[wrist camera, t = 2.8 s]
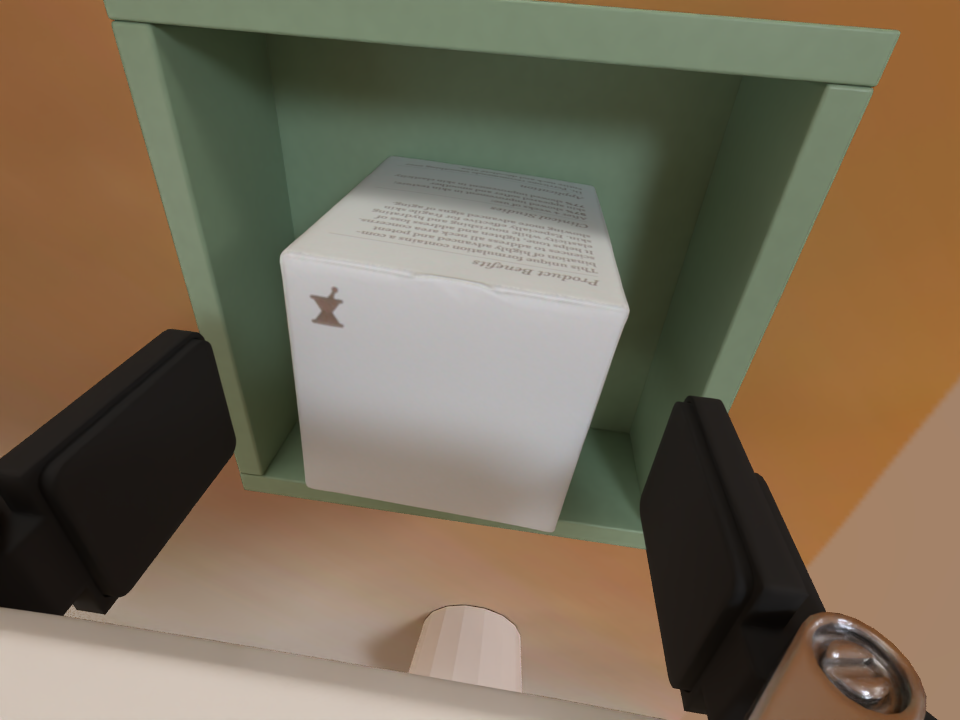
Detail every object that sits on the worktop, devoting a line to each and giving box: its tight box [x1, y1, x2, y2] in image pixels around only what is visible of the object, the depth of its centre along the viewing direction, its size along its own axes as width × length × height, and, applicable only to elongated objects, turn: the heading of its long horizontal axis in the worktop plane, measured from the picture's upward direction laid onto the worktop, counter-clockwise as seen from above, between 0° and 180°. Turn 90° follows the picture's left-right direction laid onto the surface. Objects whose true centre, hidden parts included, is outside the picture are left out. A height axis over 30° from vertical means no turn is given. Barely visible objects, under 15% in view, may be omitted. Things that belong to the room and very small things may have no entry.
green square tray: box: [103, 0, 900, 549], centre depth 14 cm, size 14×14×5 cm
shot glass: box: [408, 605, 522, 693], centre depth 26 cm, size 7×7×7 cm
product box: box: [280, 156, 630, 532], centre depth 13 cm, size 6×6×7 cm
